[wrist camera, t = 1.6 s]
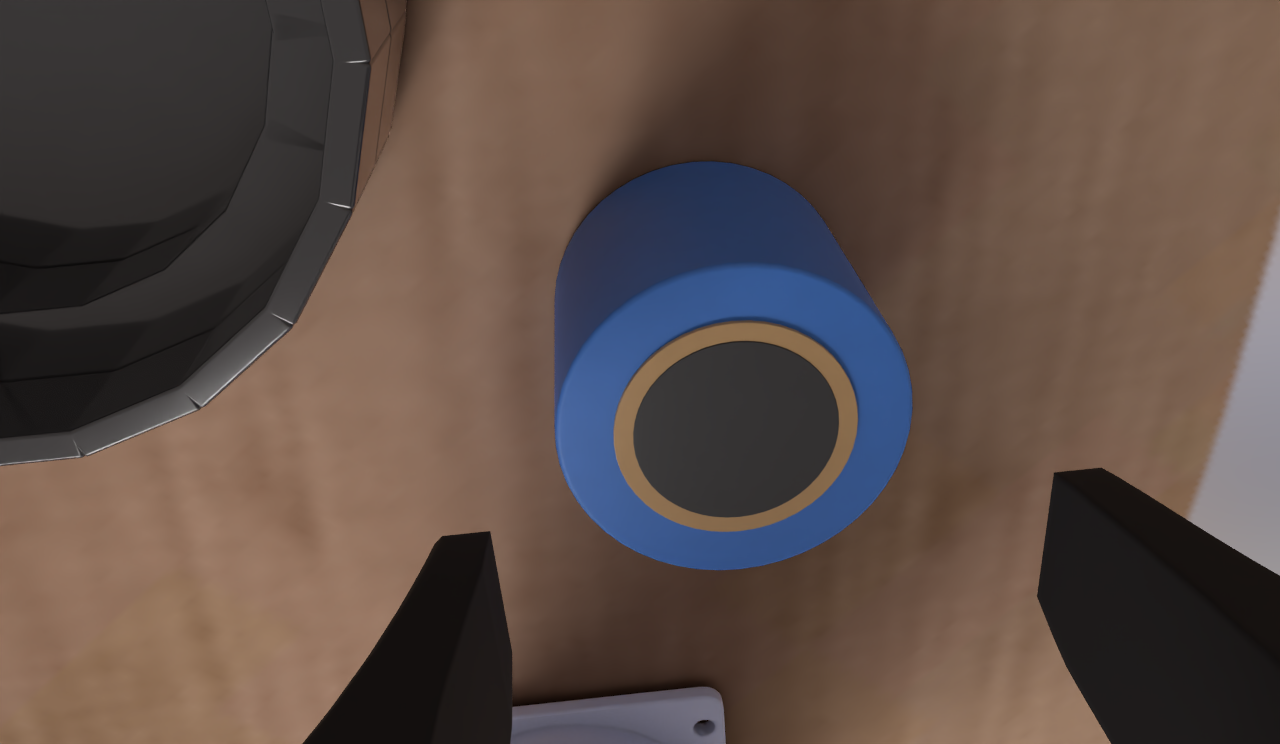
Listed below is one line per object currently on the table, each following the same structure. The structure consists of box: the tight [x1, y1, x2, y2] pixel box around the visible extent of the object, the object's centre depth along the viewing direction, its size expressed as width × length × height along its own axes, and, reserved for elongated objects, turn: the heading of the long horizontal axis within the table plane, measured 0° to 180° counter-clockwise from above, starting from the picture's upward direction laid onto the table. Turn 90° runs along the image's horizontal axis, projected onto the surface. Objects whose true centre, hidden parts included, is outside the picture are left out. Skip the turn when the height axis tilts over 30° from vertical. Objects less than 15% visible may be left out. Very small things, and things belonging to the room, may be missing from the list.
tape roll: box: [555, 161, 913, 570], centre depth 19 cm, size 6×6×5 cm
